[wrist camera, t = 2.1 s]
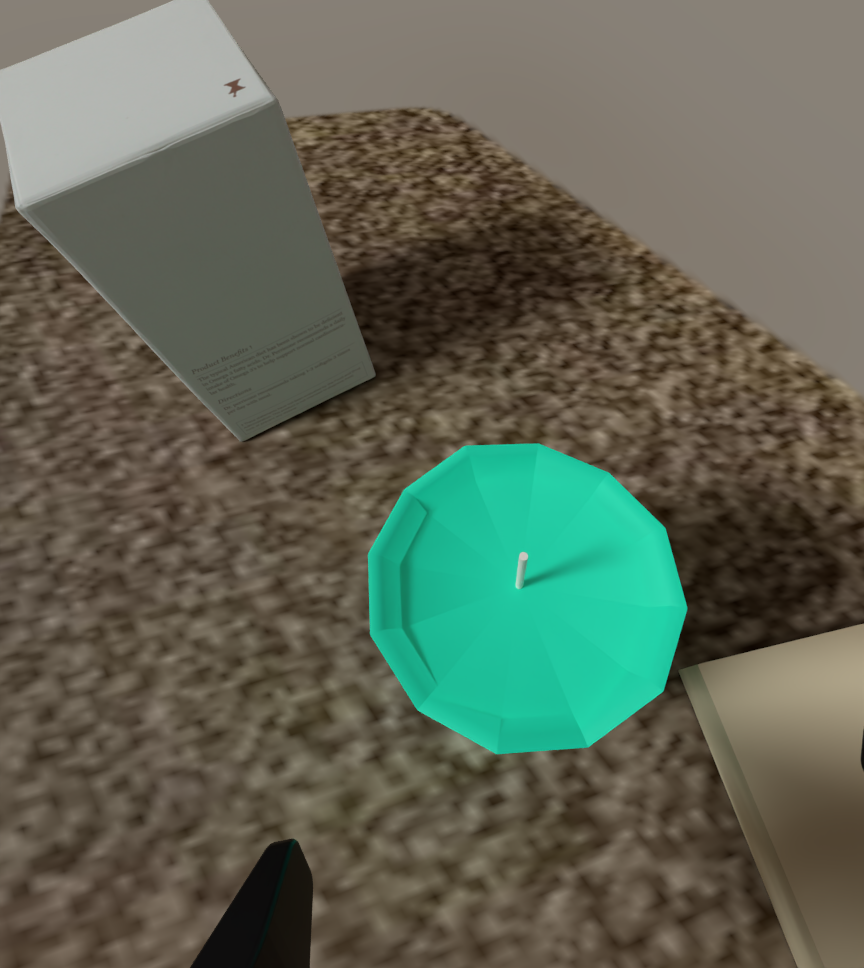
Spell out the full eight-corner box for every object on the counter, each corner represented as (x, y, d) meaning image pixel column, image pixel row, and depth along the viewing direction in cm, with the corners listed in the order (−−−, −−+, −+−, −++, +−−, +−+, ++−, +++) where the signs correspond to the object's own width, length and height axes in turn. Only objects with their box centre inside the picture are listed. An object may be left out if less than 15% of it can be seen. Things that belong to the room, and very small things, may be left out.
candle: (408, 601, 21) (307, 464, 10) (551, 549, 21) (610, 357, 10) (460, 766, 18) (404, 830, 7) (623, 705, 18) (807, 677, 7)
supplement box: (324, 280, 28) (207, -21, 17) (380, 380, 25) (282, 93, 14) (195, 339, 28) (-19, 65, 16) (236, 448, 24) (6, 206, 13)
